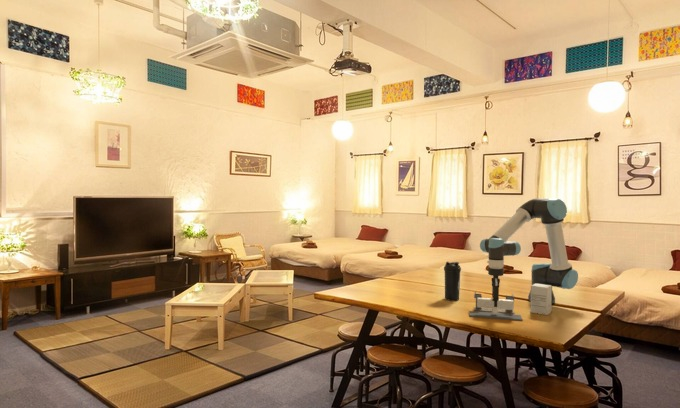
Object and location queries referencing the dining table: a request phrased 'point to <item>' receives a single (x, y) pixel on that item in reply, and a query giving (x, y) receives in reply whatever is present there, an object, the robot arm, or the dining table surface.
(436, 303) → the dining table surface
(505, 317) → the mat
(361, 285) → the dining table surface
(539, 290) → the supplement box
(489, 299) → the rail
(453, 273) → the water bottle
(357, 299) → the dining table surface
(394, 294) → the dining table surface
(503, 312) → the rack
